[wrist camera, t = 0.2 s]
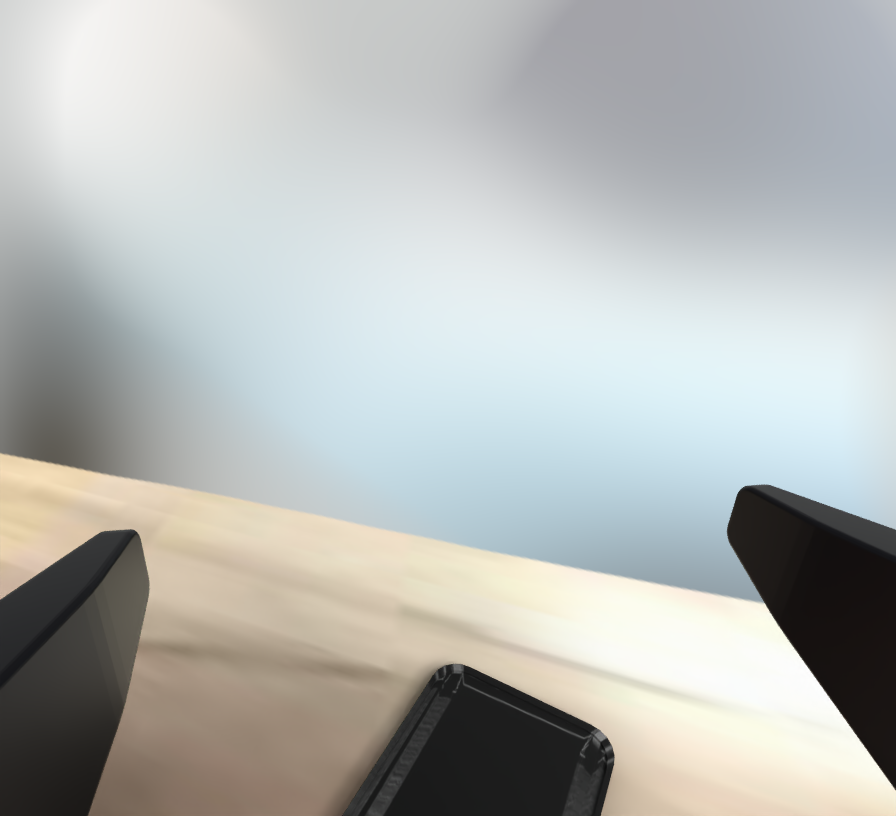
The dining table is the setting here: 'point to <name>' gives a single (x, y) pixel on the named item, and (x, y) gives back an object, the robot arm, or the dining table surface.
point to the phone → (486, 756)
